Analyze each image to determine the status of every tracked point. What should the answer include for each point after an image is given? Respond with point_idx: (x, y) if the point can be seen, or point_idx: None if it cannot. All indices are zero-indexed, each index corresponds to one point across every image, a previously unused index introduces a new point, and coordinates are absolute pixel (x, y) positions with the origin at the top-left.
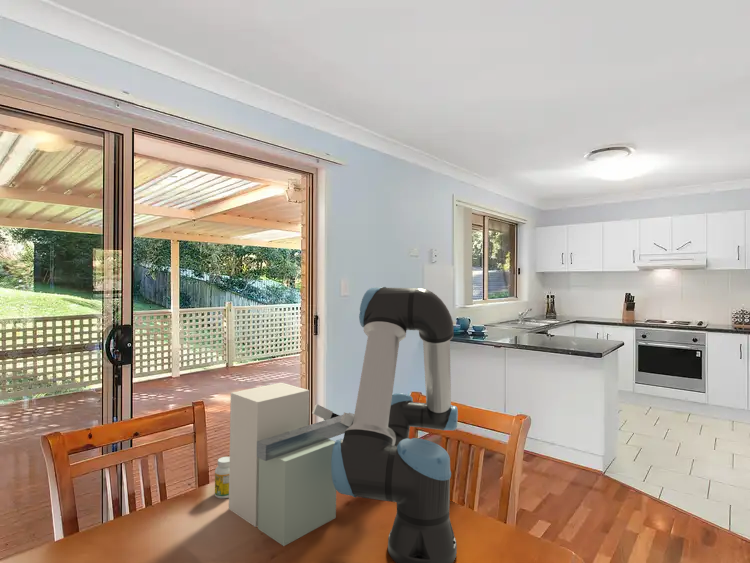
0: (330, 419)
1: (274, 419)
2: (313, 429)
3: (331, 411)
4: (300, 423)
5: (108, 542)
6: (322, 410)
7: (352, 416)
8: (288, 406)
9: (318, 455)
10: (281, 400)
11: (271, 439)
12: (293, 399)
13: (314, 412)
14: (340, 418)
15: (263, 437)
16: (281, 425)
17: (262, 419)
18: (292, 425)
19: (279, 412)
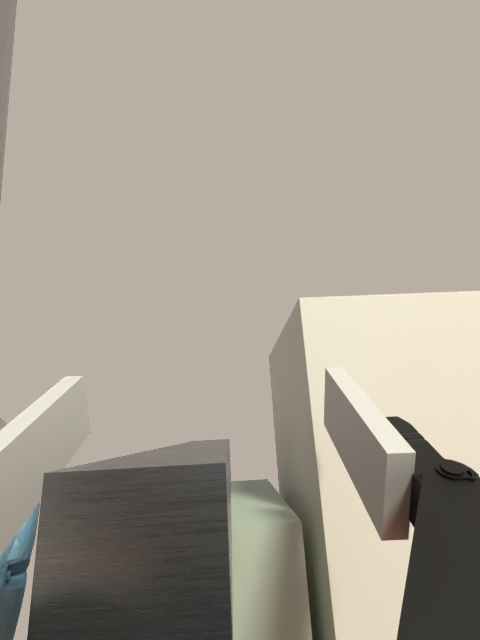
0: (214, 448)
1: (280, 408)
2: (176, 445)
3: (376, 443)
4: (304, 453)
5: None
6: (341, 414)
7: (33, 406)
8: (285, 370)
9: None
10: (278, 350)
11: (213, 440)
12: (287, 345)
13: (324, 415)
14: (172, 453)
15: (279, 455)
16: (286, 434)
17: (274, 401)
18: (295, 449)
19: (281, 388)
